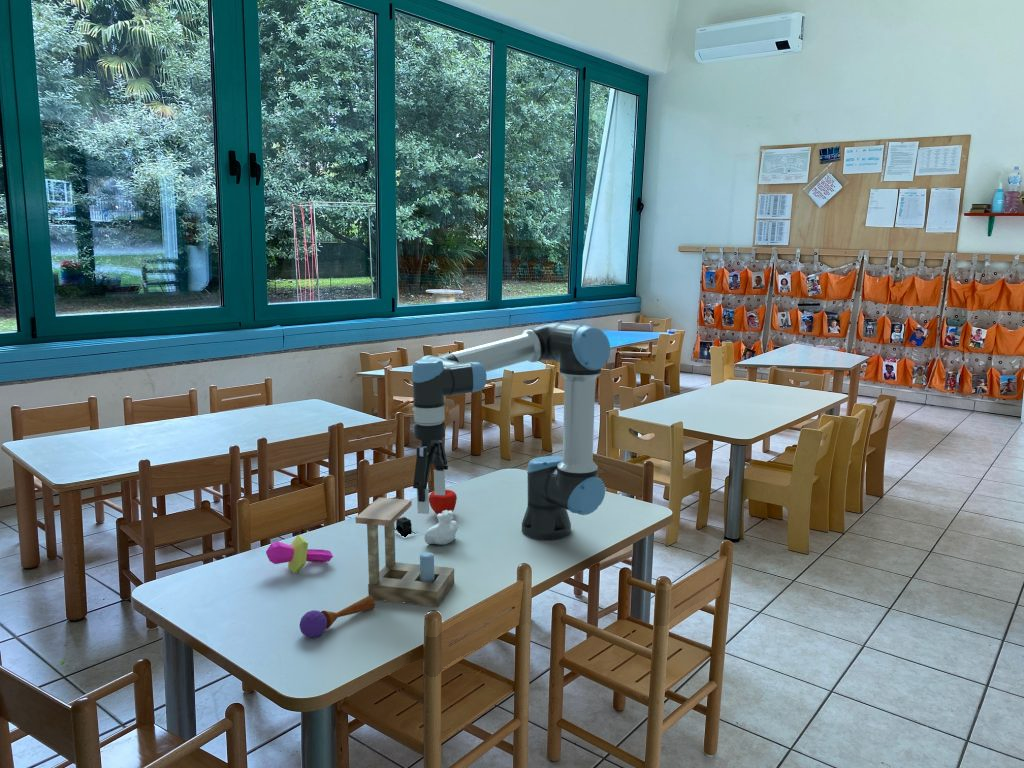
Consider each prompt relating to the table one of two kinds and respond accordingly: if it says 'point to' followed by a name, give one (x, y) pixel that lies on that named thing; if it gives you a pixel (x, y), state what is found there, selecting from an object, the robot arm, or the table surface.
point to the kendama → (330, 617)
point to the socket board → (411, 585)
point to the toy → (296, 554)
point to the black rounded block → (404, 526)
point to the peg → (427, 567)
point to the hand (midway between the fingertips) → (431, 503)
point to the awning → (385, 515)
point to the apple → (443, 501)
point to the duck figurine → (442, 529)
